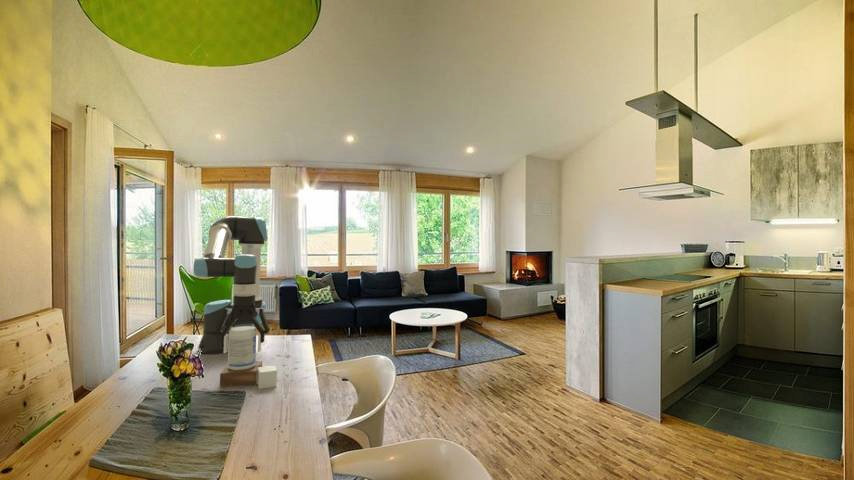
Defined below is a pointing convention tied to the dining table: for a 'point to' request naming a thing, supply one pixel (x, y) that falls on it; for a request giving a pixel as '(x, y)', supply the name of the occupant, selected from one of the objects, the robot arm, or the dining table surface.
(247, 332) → the supplement tub
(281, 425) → the dining table surface
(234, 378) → the walnut block
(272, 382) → the cream cube
